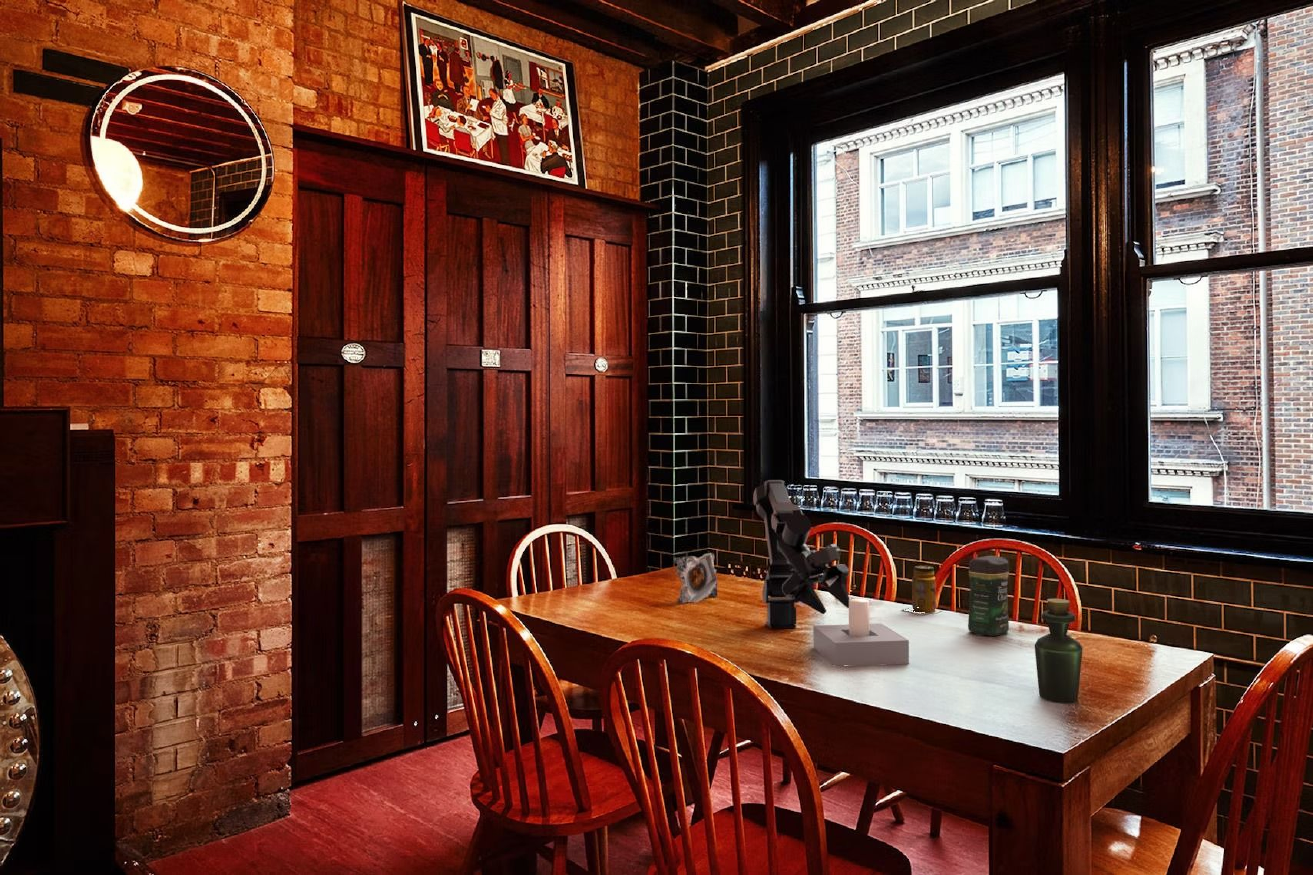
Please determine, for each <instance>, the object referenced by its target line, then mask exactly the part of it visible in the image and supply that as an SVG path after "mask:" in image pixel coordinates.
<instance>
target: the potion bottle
mask: <svg viewBox="0 0 1313 875" xmlns="http://www.w3.org/2000/svg"><path fill="white" fill-rule="evenodd" d="M1046 601H1047V606H1048V610H1044V611H1042V614H1041V617H1040V618H1041V619H1042V620H1044V621H1045V622H1046V623H1047V626H1048V630H1049V633H1047V634H1045V635H1044V636H1040V638H1039V637H1038V638H1037V640H1036V642H1035V644H1034V652H1035V664H1036V665H1035V666H1036V673H1037V674H1036V676H1037V685H1038V695H1039V696H1040V697H1041V698H1042V699H1043V700H1045V701H1048V702H1052V703H1058V704H1072V703H1075V702H1077V701H1078V700H1079V691H1080V690H1079V689H1080V683H1081V682H1080V680H1081V669H1082V660H1083V649H1084V648H1083V646H1082V644H1081V642H1079V641H1078V640H1076V639H1075V638H1073V637H1071V636H1070V635H1068V631H1069V628H1070V624H1071V623H1074V622H1076V621H1077V619H1076V617H1075V613H1073V612H1070V611H1069V608H1070V607H1069V606H1070V600H1068V599H1063V598H1047V600H1046Z"/></svg>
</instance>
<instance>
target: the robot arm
mask: <svg viewBox="0 0 1313 875" xmlns="http://www.w3.org/2000/svg"><path fill="white" fill-rule="evenodd" d="M752 499H753V505H754V506H756V513H757V515H759V517H761V519H762V520H763V521H764V522H763V523H764V527H765V528H764V529H765V535H766V536H765V537H766V543H767V544H766V545H767V549H768V550H767V551H768V558H769V567H768V570H767V572H766V577H765V579H764V580H763V585H762V586H763V587H762V590H761V591H762V592H761V595H762V602H764V603H765V604H766V606H767V607H766V611H767V612H766V615H767V616H766V617H767V618H766V619H767V620H766V621H765V624H766V626H768V627H769V628H770V629H772V630H773V629H796V628H797V625H796V624H797V607H795V603H796V604H797V603H799V601H800V602H802V603H804V605H806V606H808V607H810V608H812V609H813V610H814V611H816V612H818V613H820V614H822V615H824V614H826V613H827V610H826V608H825V606H824V604H823V602H822V600H821V598H820V597H819V595H818V594H817V593H816V591H815V584H819V583H821V584H822V586H823V587H825V588H826V591H827V592H828V593H829V594H830V595H831V596H832V597H833V598H834V599H836V600H837V601H838V602H839V603H841V604H842V605H843V606H844V607H846V608H847V609H849V600H851V599H850V596H849V594H848V590H847V585H846V580H847V578H848V577H849V573H850V572H851V571H850V569H849V568H848V567H847V565H846V564H845V563H844V564H842V563H839V564H838V563H837V564H833V565H831V566H829V564H832V563H834V562H835V561H836V562H838V561H840V560H841V558H840V557H841V555H842V550H841V549H840V547H838V546H837V544H835V543H832V544H831V543H830V544H829V545H826V546H825V547H824V548H821V549H819V550H815V549H812V550H810V548H809V547H808V545H807V544H806V543H807V540H808V538H809V534H810V532H811V528H812V521H811V520H810V518H809V517H808V516H807V515H805V513H803V511H802V509H801V508H800V507H799V505H796V504H793V503H792V501H791V499H790V496H789V494H788V487H787V486H786V481H785V480H782V479H768V480H765V481H764V483H763V484H761V485H758V486H757V487H755V489H754V492H753V498H752ZM827 569H828V570H827ZM825 570H826V571H825Z"/></svg>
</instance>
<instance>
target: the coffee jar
mask: <svg viewBox="0 0 1313 875" xmlns="http://www.w3.org/2000/svg"><path fill="white" fill-rule="evenodd" d="M968 576H969V584H970V585H969V605H968V606H969V608H968V622H967V623H968V624H967V630H968V631H969V632H972V633H974V635H977V636H991V637H993V636H999V635H1003V634H1006V633H1008V632H1009V631H1010V630H1009V628H1010V625H1009V624H1010V622H1009V609H1008V608H1009V605H1008V604H1009V603H1008V600H1009V599H1008V580H1009V576H1010V568H1009V561H1008V559H1006V557H1004V556H997V555H986V556H979V557H975V558H972V559H971V560H970V561H969V564H968Z"/></svg>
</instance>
